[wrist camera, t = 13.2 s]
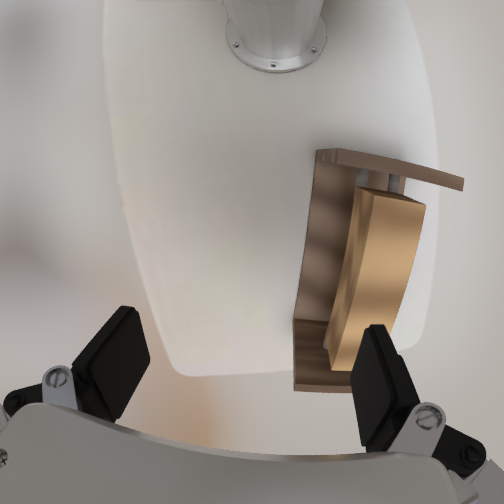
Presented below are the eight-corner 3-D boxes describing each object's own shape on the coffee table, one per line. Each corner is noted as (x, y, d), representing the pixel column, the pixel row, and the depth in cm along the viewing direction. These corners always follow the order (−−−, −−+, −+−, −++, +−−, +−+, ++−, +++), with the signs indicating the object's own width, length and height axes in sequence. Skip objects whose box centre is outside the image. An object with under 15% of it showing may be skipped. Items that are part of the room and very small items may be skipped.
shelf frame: (316, 150, 32) (338, 148, 19) (404, 166, 31) (464, 178, 18) (292, 321, 41) (293, 391, 27) (367, 326, 40) (391, 391, 27)
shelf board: (356, 185, 26) (374, 195, 20) (399, 193, 25) (426, 205, 20) (325, 336, 32) (331, 370, 26) (363, 338, 32) (374, 370, 26)
